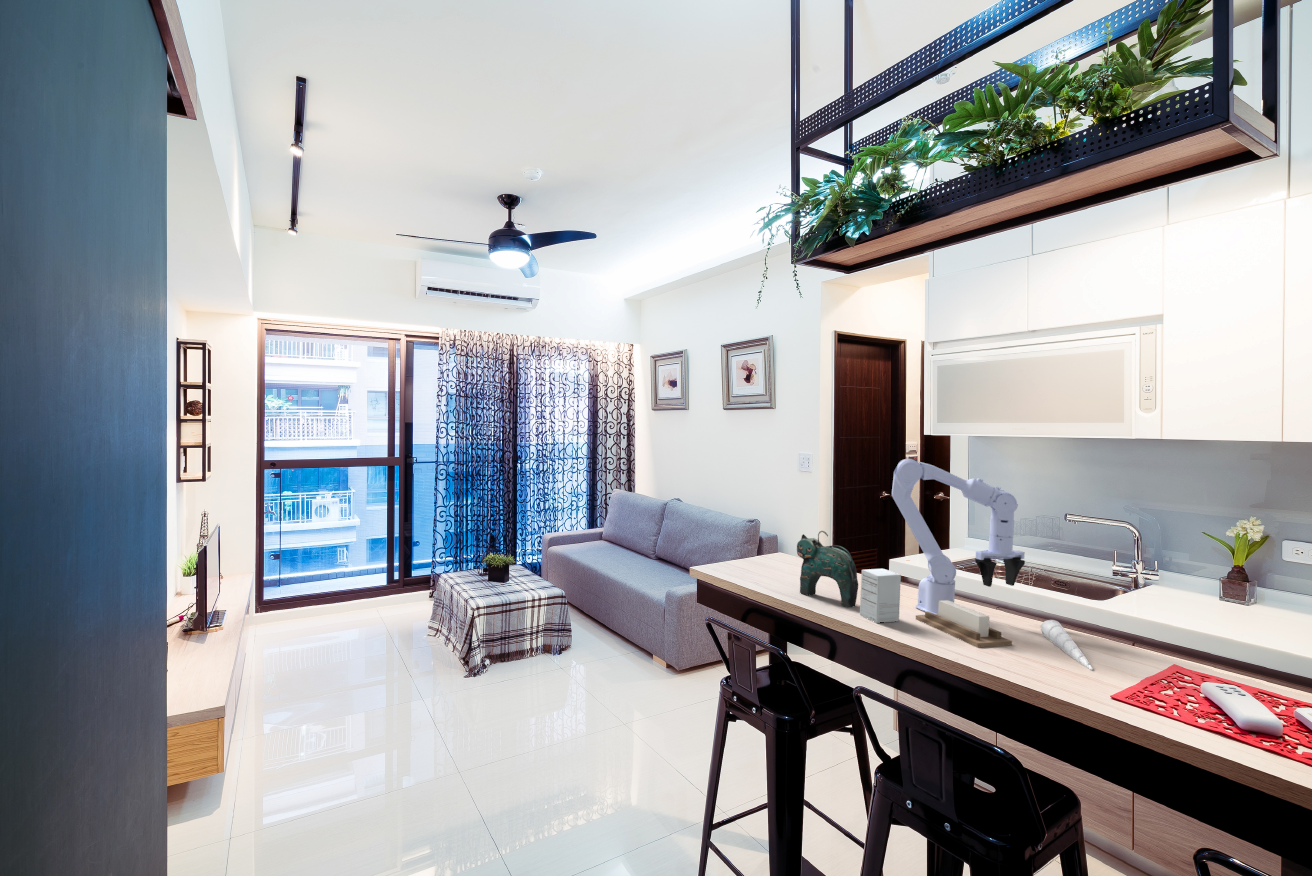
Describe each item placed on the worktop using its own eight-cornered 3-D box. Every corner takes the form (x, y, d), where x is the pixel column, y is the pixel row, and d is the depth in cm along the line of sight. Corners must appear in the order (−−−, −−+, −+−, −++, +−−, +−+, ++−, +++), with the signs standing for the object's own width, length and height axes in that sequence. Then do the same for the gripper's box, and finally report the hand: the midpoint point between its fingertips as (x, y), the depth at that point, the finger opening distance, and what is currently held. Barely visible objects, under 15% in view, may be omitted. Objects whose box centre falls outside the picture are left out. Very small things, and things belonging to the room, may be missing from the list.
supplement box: (881, 613, 176) (883, 567, 175) (899, 621, 169) (902, 574, 168) (858, 615, 173) (860, 568, 173) (876, 623, 166) (878, 575, 166)
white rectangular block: (937, 619, 169) (938, 600, 168) (947, 618, 169) (948, 600, 169) (978, 637, 155) (979, 616, 155) (988, 636, 156) (989, 616, 156)
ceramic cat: (792, 592, 194) (795, 527, 194) (806, 589, 198) (809, 525, 198) (848, 609, 179) (851, 538, 178) (861, 606, 183) (865, 536, 182)
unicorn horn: (1072, 670, 139) (1073, 648, 139) (1039, 636, 162) (1040, 617, 162) (1097, 673, 138) (1098, 650, 138) (1060, 638, 161) (1061, 619, 161)
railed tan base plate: (915, 618, 172) (916, 609, 172) (946, 617, 175) (947, 608, 174) (977, 647, 151) (978, 636, 151) (1011, 644, 153) (1012, 634, 153)
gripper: (990, 538, 168) (988, 589, 168) (1034, 537, 172) (1032, 588, 172) (970, 533, 175) (968, 583, 175) (1013, 533, 179) (1011, 581, 179)
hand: (998, 585), depth 174 cm, fingers open, 7 cm apart
